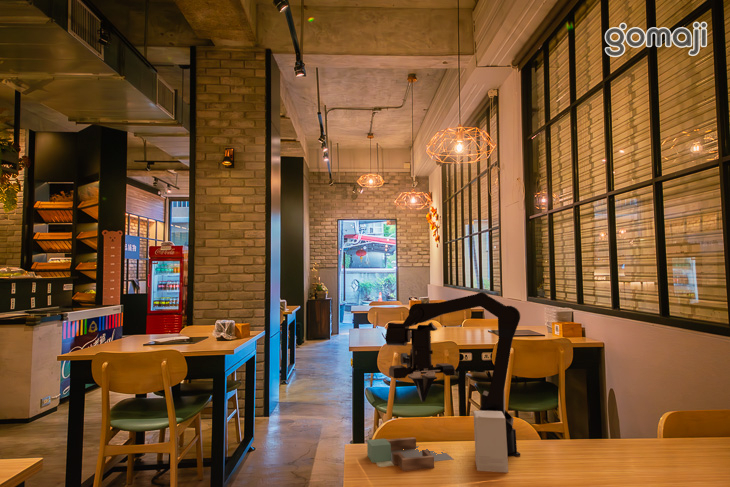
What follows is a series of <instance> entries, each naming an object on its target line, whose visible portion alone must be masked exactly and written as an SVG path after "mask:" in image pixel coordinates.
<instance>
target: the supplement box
mask: <svg viewBox="0 0 730 487" xmlns="http://www.w3.org/2000/svg"><path fill="white" fill-rule="evenodd" d="M473 428H474V430H473V431H474V449H475V450H474V452H475V453H474V456H475V465H476V470H477V472H492V473H493V472H494V473H509V460H508V458H509V457H508V455H507V438H506V419H505V416H504V414H503V413H502V411H482V410H473Z"/></svg>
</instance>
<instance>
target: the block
mask: <svg viewBox="0 0 730 487" xmlns="http://www.w3.org/2000/svg"><path fill="white" fill-rule="evenodd" d="M387 440H388V439H386V438H377V439H376V438H375V439H367V440H366V445H367V457H368V459H369V460H370V462H371V463H372V464H373V463H376V462H383V461H391V444H390V443H389V442H388V441H387Z"/></svg>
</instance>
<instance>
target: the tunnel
mask: <svg viewBox="0 0 730 487" xmlns="http://www.w3.org/2000/svg"><path fill="white" fill-rule="evenodd" d="M386 440H387V441H388V442H389V443H390V444H391V451H393V450H403V449H414V448H416V446H417V438H416V437H415V436H414V437H401V438H391V439H390V438H389V439H386ZM392 457H393V464H394V465H395V466H398V467H399V468H400V469H401V470H402V472H407V471H417V470H426V469H427V470H429V469H434V468H435V461H434V456H432V455H431V454H430V451H429V450H428V449H426V450H422V457H412V458H405V457H404V456H403V455H402V454H401V453H400V452H394V453H392Z"/></svg>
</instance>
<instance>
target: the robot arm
mask: <svg viewBox="0 0 730 487" xmlns="http://www.w3.org/2000/svg"><path fill="white" fill-rule="evenodd" d="M479 307H481V308H483V309H484V310H486V311H487V312H488V313H490V314H492V315H493V316H495V317H496V318H497V332H498V334H497V335H498V340H497V346H496V352H495V357H494V358H495V359H494V362H493V363H494V364H493V369H492V376H491V383H490V388H489V390H488V391H487V390H483V391H482V392H483V393H482V394H481V405H480V407H479V411H502V413H503V414H504V416H505V419H506V438H507V455H508V458H509V457H519V456H521V453H520V452H519V451H517V450H518V449H517V448H518V447H517V446H518V445H517V444H518V443H517V432H516V431H517V430H516V428H514V427H513V426H514V417H513V416H512V415H511V414H510V413H508V411H507V410H506V394H505V392H506V390H505V388H506V383H507V382H506V381H507V375H508V371H509V370H508V368H509V364H510V357H511V350H512V347H513V346H512V344H513V340H514V337H515V334H516V331H517V329H518V327H519V326H518V325H519V323H520V320H521V312H520V310H519V309H518V308H517V307H516V306H514V305H505V304H503V302H500V301H499V300H497V299H495V298H493V297H492V296H489V294H488V293H487V292H481V291H480V292H478V293H475V294H472V295H467V296H463V297H457V298H454V299H449V300H448V299H447V300H445V301H440V302H425V303H424V302H422V303H414V304H412V305H411V306H410V308H409V310H408V316H407V317H406V319H405V320H404V321H403V322H402V323H399V322H397V323H396V322H387V328H386V332H385V335H384V336H385V342H386V345H387V346H392V347H393V346H397V347H399V346H400V347H401V346H403V347H406V346H408V343H411V349H410V353H407V352H401V353H400V355H399V356H400V357H399V358H400V360H399V361H400V365H399V364H398V365H390V367H389V369H388V376H389V377H391V378H393V379H406V378H407V377H408V379H410V380H411V381H412V382H413V383H414V386H415V388H416V390H417V394H418V397H419V398H420V399H419V400H420V402H425V401H426V399H427V397H428V395H429V392H430V390H431V388H432V385H433V383H434V381H435V380H437V379H438V377H437V376H436V374H444V376H447V377H448V376H451V377H452V376H456V368H455V366H454V365H453V364H450V363H436V364H435V366H434V364H432V362H433V361H432V355H433V354H434V351H433V350H432V337H431V335H432V334H431V333H432V332H436V331H437V330H438V327H437V326H435V325H434V323H433V322H429V321H432V320H434V319H436V318H438V317H441V316H443V315H446V314H452V313H456V312H460V311H464V310H469V309H474V308H479ZM427 322H429V323H428V324H423V323H427ZM416 325H418V326H417V327H415V328H414V326H416ZM410 327H411V328H410ZM412 327H413V328H412ZM405 365H406V366H405Z"/></svg>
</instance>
